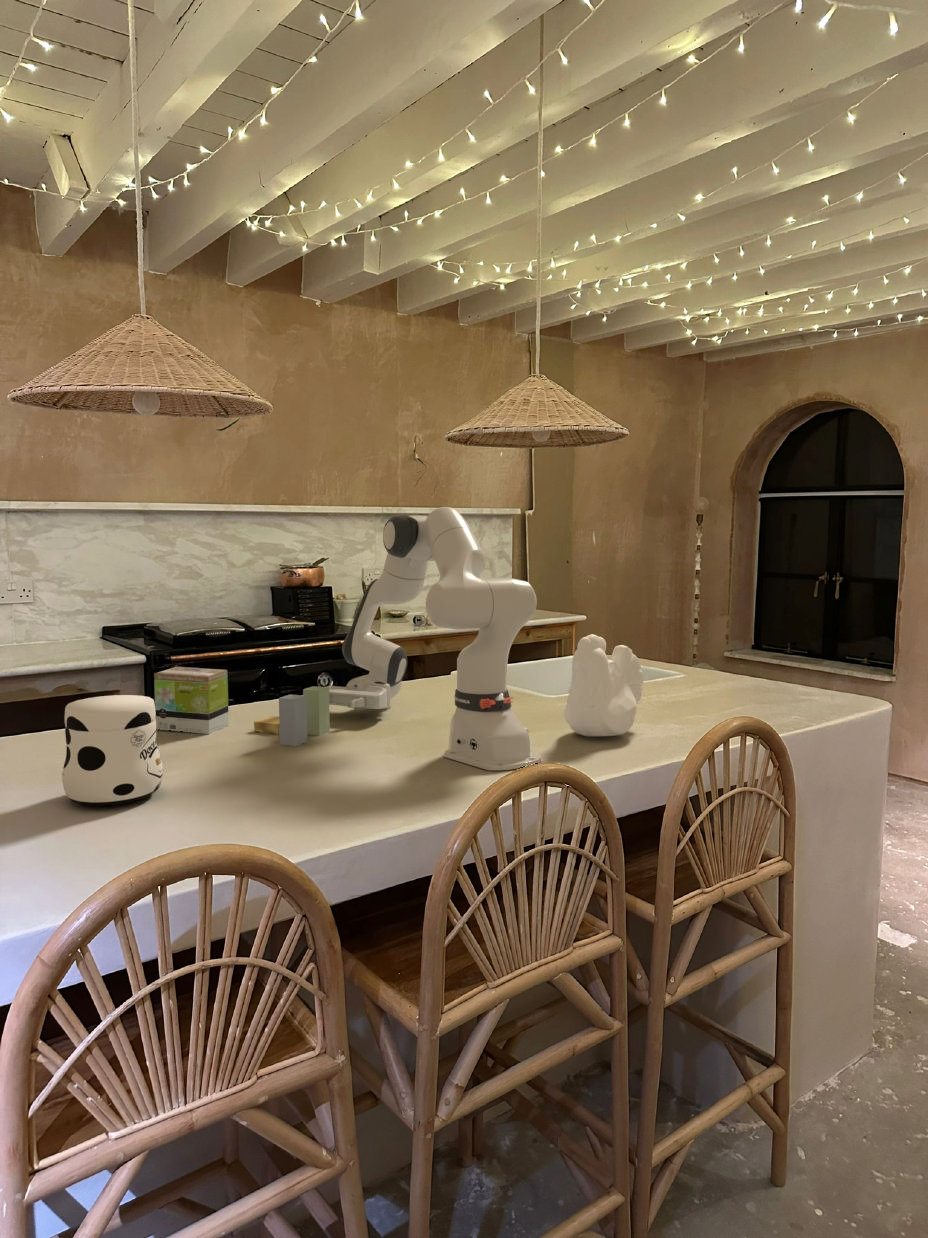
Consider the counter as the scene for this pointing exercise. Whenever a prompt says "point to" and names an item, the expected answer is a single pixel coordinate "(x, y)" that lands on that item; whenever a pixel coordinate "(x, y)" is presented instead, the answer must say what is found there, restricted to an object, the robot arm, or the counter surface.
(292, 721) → the slate block
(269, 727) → the ochre slab
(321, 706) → the green block
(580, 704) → the decorative rooster
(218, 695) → the tea box
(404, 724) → the counter surface
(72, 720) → the spotted treat jar
